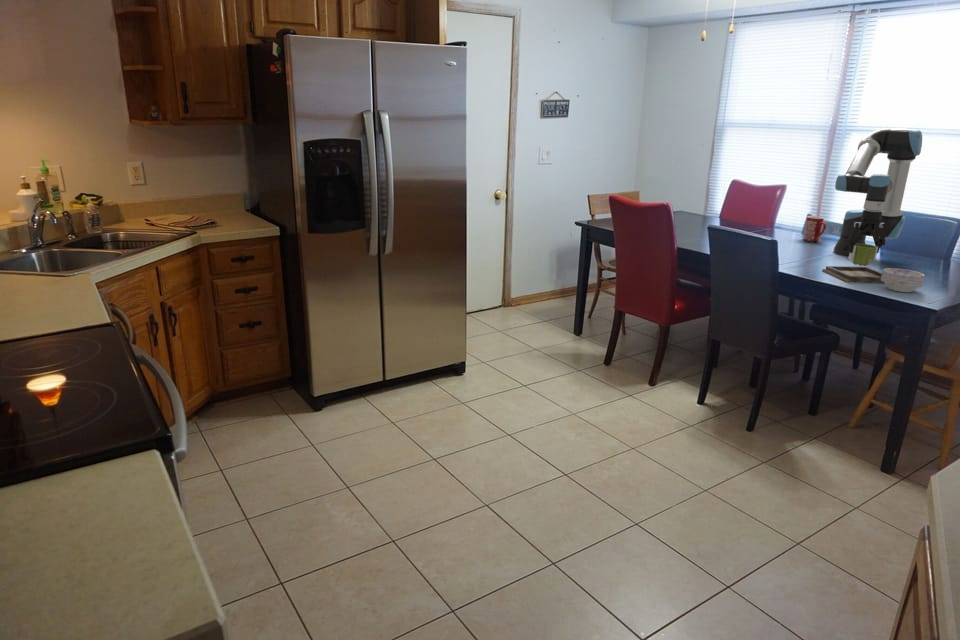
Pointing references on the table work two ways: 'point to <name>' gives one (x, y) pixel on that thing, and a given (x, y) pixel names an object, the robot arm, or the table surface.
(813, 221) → the mug
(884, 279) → the paper bowls
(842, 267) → the wooden tray
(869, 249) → the plant pot
